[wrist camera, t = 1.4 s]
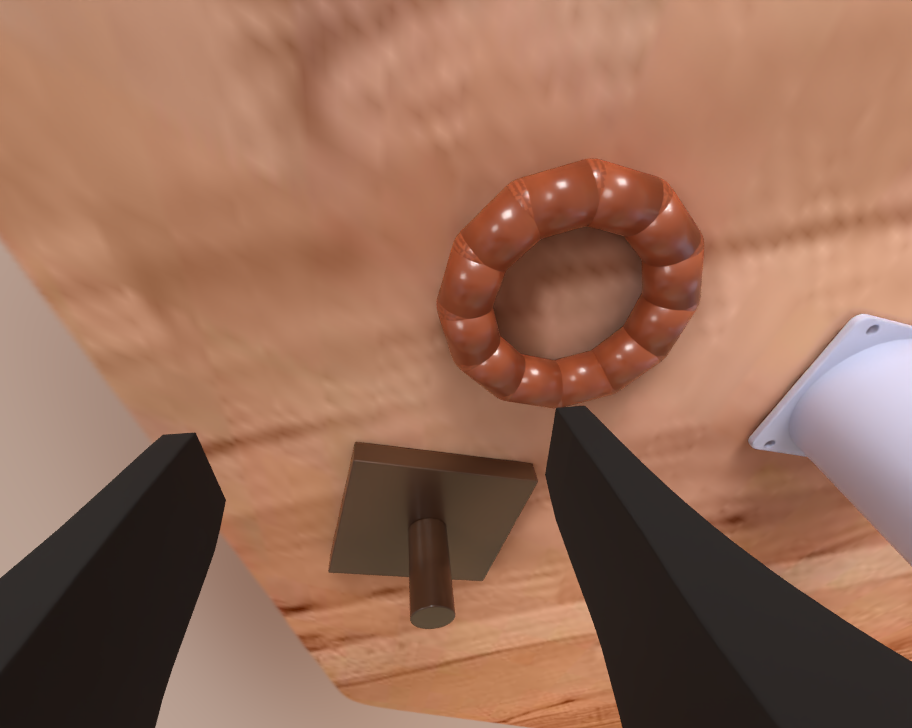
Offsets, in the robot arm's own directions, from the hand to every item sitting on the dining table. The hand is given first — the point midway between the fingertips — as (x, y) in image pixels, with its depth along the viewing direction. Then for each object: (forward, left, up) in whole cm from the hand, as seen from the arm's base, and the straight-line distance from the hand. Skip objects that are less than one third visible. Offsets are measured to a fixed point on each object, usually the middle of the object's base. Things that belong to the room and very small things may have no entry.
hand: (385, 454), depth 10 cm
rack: (-5, +13, -9) cm, 17 cm away
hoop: (-7, -1, -8) cm, 10 cm away
